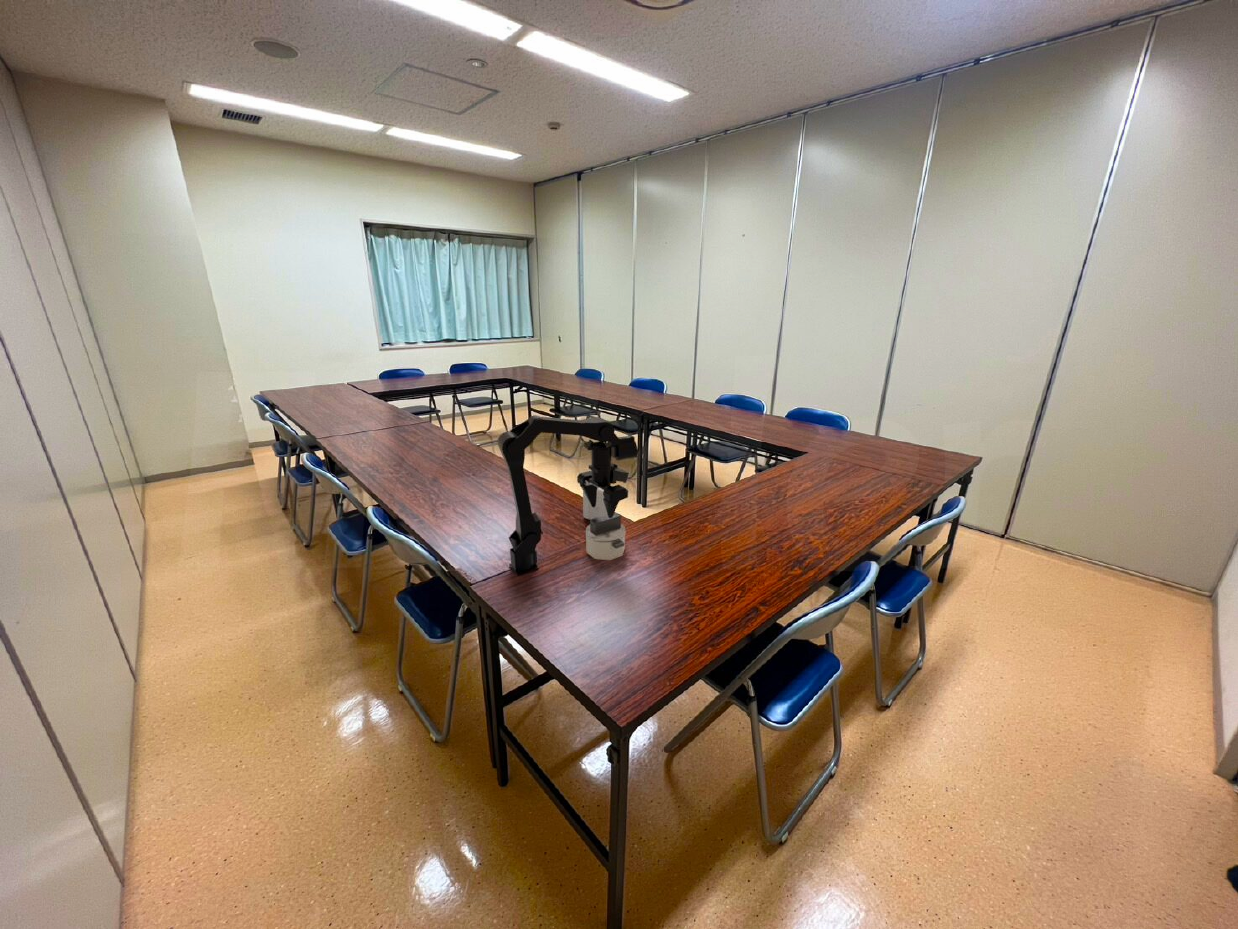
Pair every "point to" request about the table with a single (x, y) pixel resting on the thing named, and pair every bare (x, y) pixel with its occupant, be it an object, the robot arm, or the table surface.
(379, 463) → the table surface
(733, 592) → the table surface
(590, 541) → the cooker pot
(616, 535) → the cooker lid
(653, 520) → the table surface
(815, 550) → the table surface
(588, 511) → the photo printer
